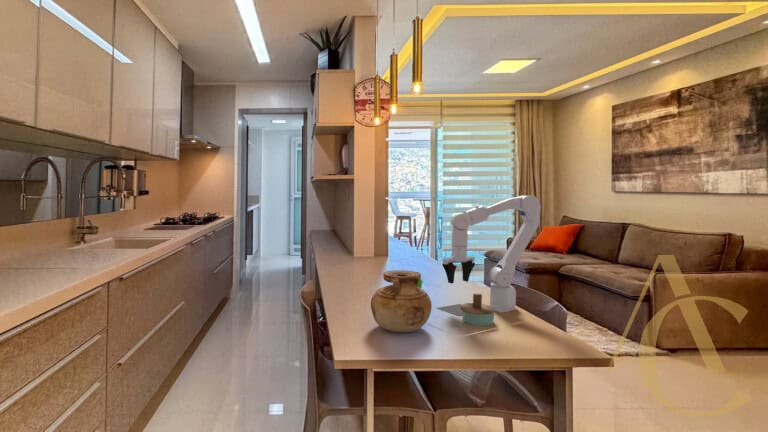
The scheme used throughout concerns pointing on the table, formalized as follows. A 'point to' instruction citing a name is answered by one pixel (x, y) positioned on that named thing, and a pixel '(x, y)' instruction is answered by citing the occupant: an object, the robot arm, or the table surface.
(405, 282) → the clay pot
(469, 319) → the bowl
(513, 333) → the table surface
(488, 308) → the lid
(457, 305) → the mat
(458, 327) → the table surface
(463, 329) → the table surface
